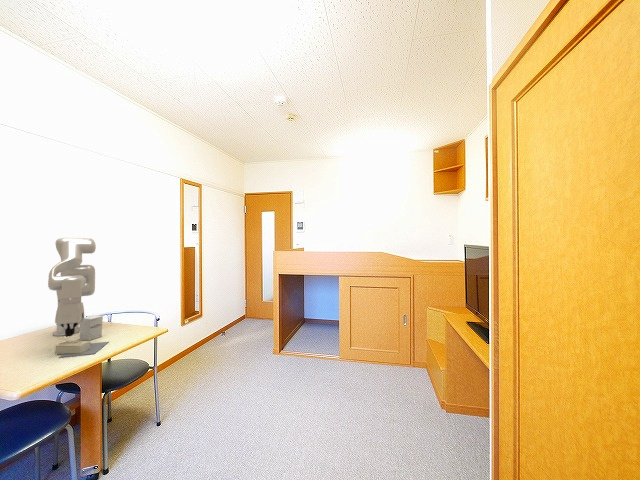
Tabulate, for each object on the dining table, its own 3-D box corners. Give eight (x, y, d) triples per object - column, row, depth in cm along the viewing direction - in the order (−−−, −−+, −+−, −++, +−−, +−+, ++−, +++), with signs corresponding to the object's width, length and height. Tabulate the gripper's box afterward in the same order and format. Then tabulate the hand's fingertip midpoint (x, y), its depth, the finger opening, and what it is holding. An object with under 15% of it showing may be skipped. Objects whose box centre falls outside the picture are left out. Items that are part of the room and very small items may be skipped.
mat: (77, 345, 135) (77, 344, 135) (108, 342, 140) (109, 341, 140) (58, 358, 120) (58, 357, 120) (94, 354, 125) (94, 353, 125)
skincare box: (66, 341, 129) (91, 340, 130) (66, 349, 129) (90, 348, 130) (54, 345, 123) (80, 345, 124) (54, 354, 123) (80, 353, 124)
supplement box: (88, 341, 141) (89, 319, 141) (78, 339, 143) (79, 318, 143) (102, 336, 148) (103, 315, 149) (92, 335, 150) (93, 314, 150)
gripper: (47, 303, 122) (45, 340, 121) (85, 301, 127) (83, 336, 126) (57, 300, 129) (56, 334, 128) (92, 298, 134) (91, 331, 134)
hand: (69, 335), depth 127 cm, fingers closed
